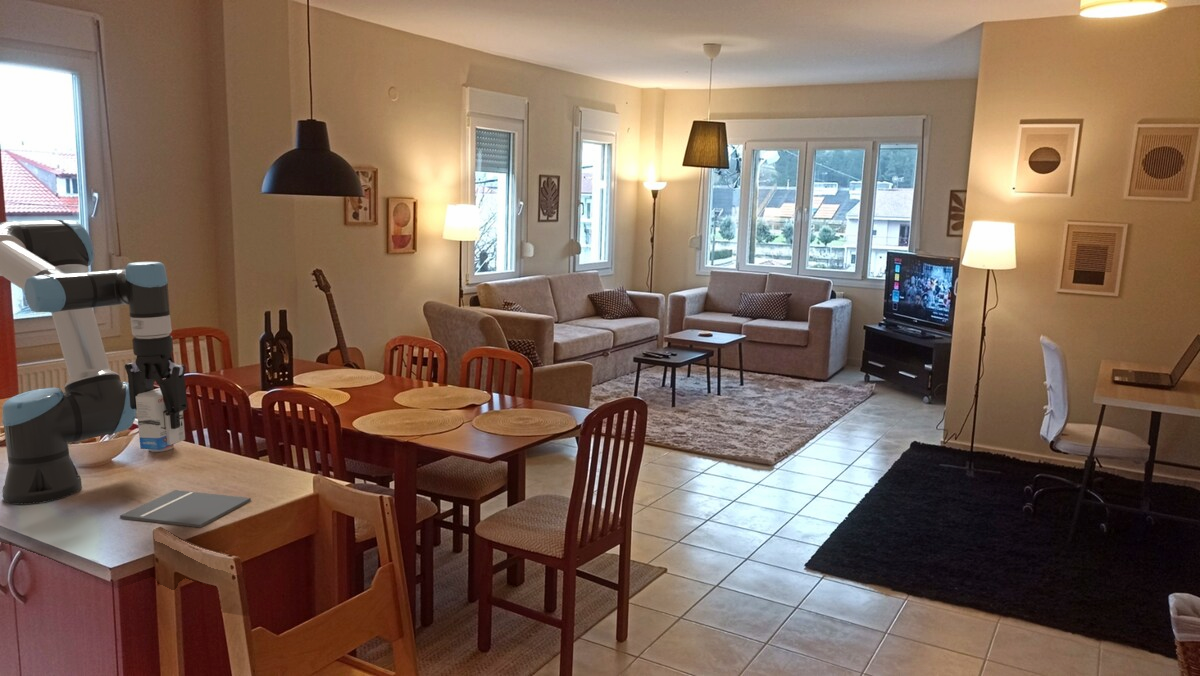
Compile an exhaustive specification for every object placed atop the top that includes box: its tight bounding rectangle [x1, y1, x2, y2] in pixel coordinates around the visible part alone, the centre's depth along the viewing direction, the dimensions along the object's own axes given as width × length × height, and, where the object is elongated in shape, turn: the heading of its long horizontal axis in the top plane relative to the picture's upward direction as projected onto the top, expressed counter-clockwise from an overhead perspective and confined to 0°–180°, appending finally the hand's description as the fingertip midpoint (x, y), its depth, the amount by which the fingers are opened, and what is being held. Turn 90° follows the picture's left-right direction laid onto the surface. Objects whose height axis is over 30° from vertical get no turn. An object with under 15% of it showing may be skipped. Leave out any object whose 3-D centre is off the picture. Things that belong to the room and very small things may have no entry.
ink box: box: [136, 387, 186, 450], centre depth 184 cm, size 9×5×12 cm, turn 168°
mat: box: [119, 489, 252, 528], centre depth 186 cm, size 20×16×1 cm
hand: (162, 441), depth 184 cm, fingers closed on ink box, 5 cm apart
